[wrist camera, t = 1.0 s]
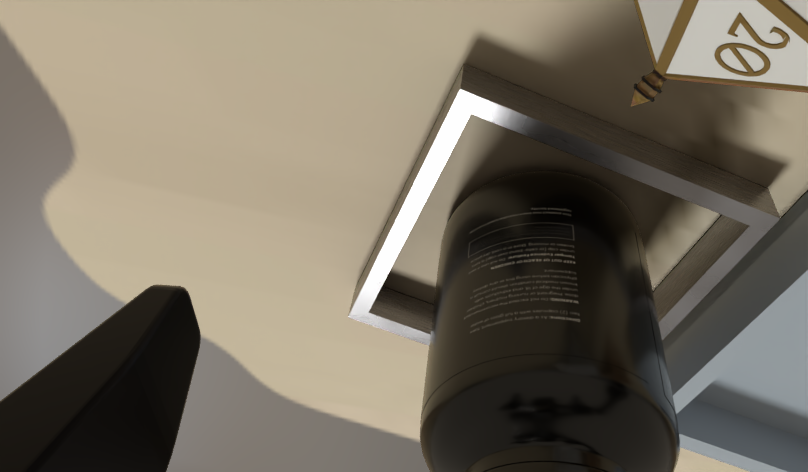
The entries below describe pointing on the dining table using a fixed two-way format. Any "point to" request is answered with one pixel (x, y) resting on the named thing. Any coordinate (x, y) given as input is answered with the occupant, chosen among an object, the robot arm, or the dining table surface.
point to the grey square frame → (588, 139)
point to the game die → (725, 43)
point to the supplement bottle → (546, 336)
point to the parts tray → (749, 357)
